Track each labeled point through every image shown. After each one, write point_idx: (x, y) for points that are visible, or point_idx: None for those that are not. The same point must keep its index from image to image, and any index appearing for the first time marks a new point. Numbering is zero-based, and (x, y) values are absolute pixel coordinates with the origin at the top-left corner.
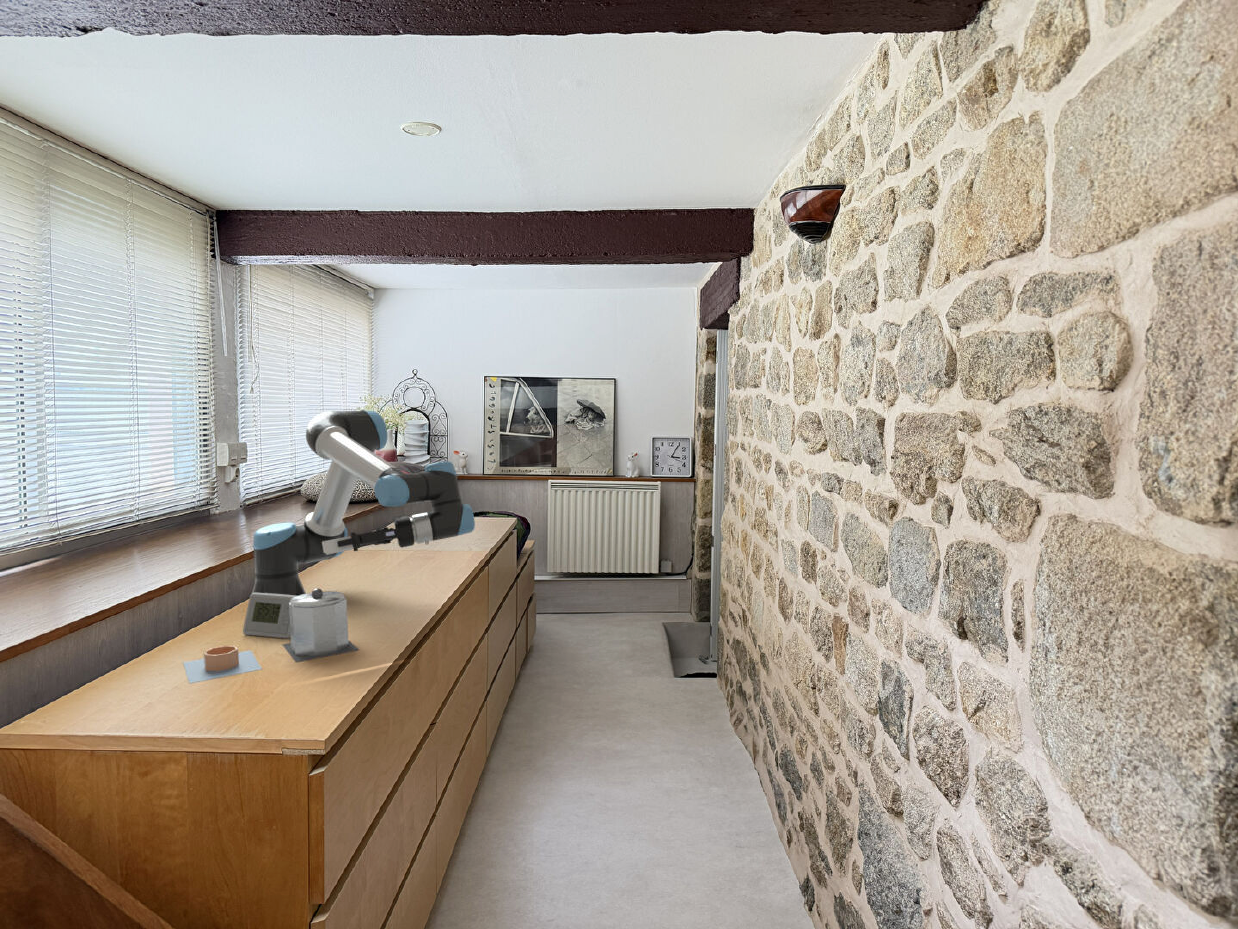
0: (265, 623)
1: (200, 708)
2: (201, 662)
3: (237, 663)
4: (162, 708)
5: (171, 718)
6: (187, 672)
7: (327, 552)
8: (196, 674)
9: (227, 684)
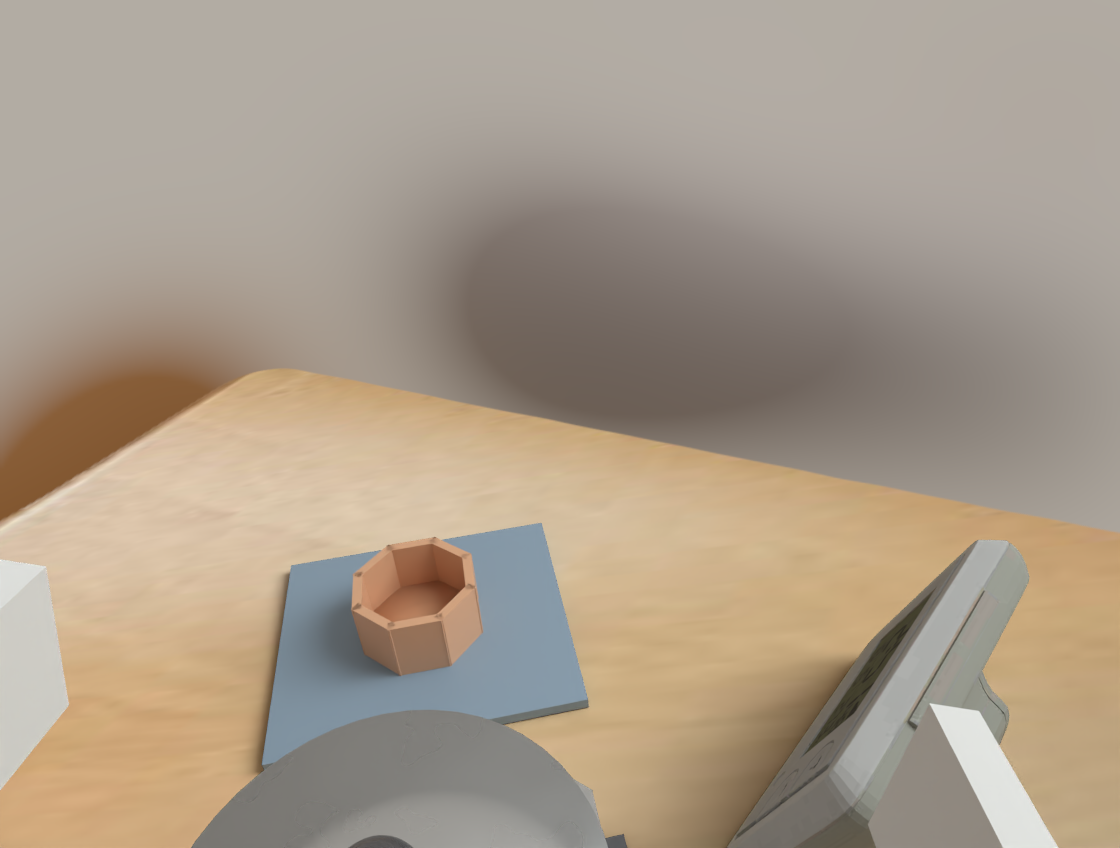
0: (836, 702)
1: None
2: (508, 565)
3: (392, 667)
4: (147, 544)
5: None
6: None
7: (888, 826)
8: None
9: (213, 668)
